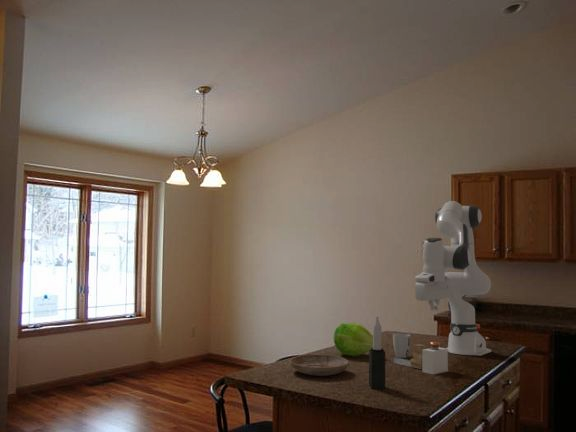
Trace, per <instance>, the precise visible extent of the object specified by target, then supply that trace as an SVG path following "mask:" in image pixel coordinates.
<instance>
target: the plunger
mask: <svg viewBox="0 0 576 432" xmlns="http://www.w3.org/2000/svg"><path fill="white" fill-rule="evenodd" d="M429 345H430V348H431V350H439V347H440V346H441V342H438V341H429Z"/></svg>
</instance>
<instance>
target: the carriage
mask: <svg viewBox="0 0 576 432" xmlns="http://www.w3.org/2000/svg"><path fill="white" fill-rule="evenodd" d="M423 349H426V344H420V343H416V344H412V358H410V361H411V367H410V368H414V369H415V368H416V369H418V368H419V370H422V350H423Z"/></svg>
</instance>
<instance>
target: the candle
mask: <svg viewBox="0 0 576 432" xmlns="http://www.w3.org/2000/svg"><path fill="white" fill-rule="evenodd" d="M375 318H376V319H375V321H374V322H375V323H374V324H373V326H372V336H373V348H371V350H369V351H368V352H369V353H368V354H369V356H368V358H369V359H368V367H369V368H368V387H370V388H371V389H372V390H385V389H386V351H385V349H384V348H382V324H381V323H380V321H379V316H376V317H375Z"/></svg>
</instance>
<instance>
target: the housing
mask: <svg viewBox="0 0 576 432" xmlns="http://www.w3.org/2000/svg"><path fill="white" fill-rule="evenodd" d="M448 354H449V352H448V349H446V348H445V347H440V346H439V350H431V347H430V348H425V349H423V350H422V369H421V370H422V373H425V374H430V375H437V374H442V373H447V372H448V369H449V368H448V367H449V365H448V363H449V362H448V360H449V357H448V356H449V355H448Z"/></svg>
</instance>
